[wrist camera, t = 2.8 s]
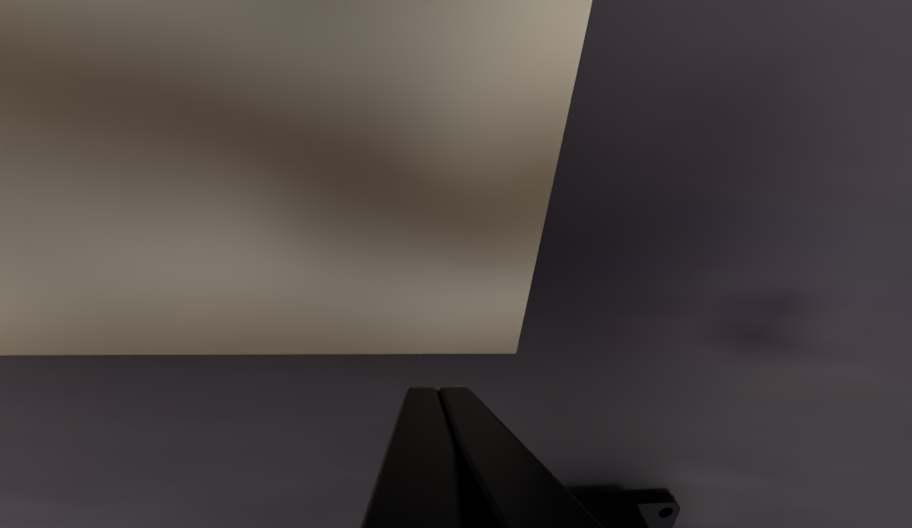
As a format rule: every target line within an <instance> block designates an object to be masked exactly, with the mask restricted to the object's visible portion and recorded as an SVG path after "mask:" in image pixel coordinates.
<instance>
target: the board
mask: <svg viewBox="0 0 912 528" xmlns="http://www.w3.org/2000/svg"><path fill="white" fill-rule="evenodd" d="M591 5H592V0H0V355H240V354H516V351H517V346H518V342H519V337H520V332H521V328H522V323H523V319H524V314H525V309H526V305H527V300H528V296H529V291H530V286H531V282H532V277H533V273H534V268H535V263H536V259H537V254H538V249H539V245H540V240H541V236H542V231H543V226H544V222H545V217H546V213H547V208H548V203H549V199H550V194H551V189H552V185H553V180H554V176H555V171H556V166H557V162H558V157H559V153H560V148H561V143H562V139H563V134H564V130H565V125H566V120H567V116H568V111H569V106H570V102H571V97H572V93H573V88H574V83H575V79H576V74H577V70H578V65H579V60H580V56H581V51H582V46H583V42H584V37H585V33H586V28H587V23H588V19H589V14H590V10H591Z"/></svg>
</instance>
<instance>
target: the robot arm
mask: <svg viewBox="0 0 912 528" xmlns="http://www.w3.org/2000/svg"><path fill="white" fill-rule="evenodd" d="M679 510H680V507H679V505H678V504H677V502H676V500H675V498H674V496H673V495H671V494H670V493H655V494H635V495H616V496H596V497H577V498H575V497H574V496H573V495H572V494H571V493H570V492H569V491H568V490H567V489H566V488H565V487H564V486H563V485H562V484H561V483H560V482H559V481H558V480H557V479H556V478H555V477H554V476H553V475H552V474H551V472H550V471H549V470H548V469H547V468H546V467H545V466H544V465H543V464H542V463H541V462H540V461H539V460H538V459H537V458H536V457H535V456H534V455H533V454H532V453H531V452H530V451H529V450H528V449H527V448H526V447H525V446H524V445H523V444H522V443H521V442H520V441H519V440H518V439H517V437H516V436H515V435H514V434H513V433H512V432H511V431H510V430H509V429H508V428H507V427H506V426H505V425H504V424H503V423H502V422H501V421H500V420H499V419H498V418H497V417H496V416H495V415H494V414H493V413H492V412H491V411H490V410H489V409H488V408H487V407H486V406H485V405H484V404H483V402H482V401H481V400H480V399H479V398H478V397H477V396H476V395H475V394H474V393H473V392H472V391H471V390H470V389H469V388H467V387H465V386H440V387H439V388H438V389H436V388H435V387H433V386H411V387H408V388H407V389H406V392H405V395H404V398H403V401H402V404H401V407H400V410H399V413H398V416H397V419H396V422H395V425H394V428H393V431H392V434H391V437H390V440H389V443H388V446H387V449H386V452H385V455H384V458H383V461H382V464H381V467H380V471H379V474H378V477H377V480H376V483H375V486H374V489H373V492H372V495H371V498H370V501H369V504H368V507H367V510H366V513H365V516H364V519H363V522H362V525H361V528H672V527H673V525H674V523H675V520H676V518H677V516H678V513H679Z"/></svg>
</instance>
